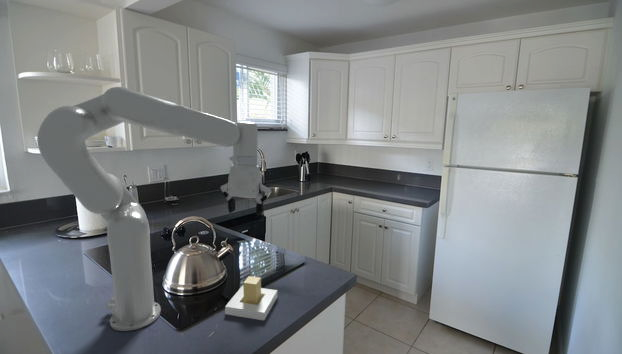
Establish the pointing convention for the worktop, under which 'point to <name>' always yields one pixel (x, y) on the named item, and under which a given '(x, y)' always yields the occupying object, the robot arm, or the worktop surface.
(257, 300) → the plug block
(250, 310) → the socket housing
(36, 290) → the worktop surface
